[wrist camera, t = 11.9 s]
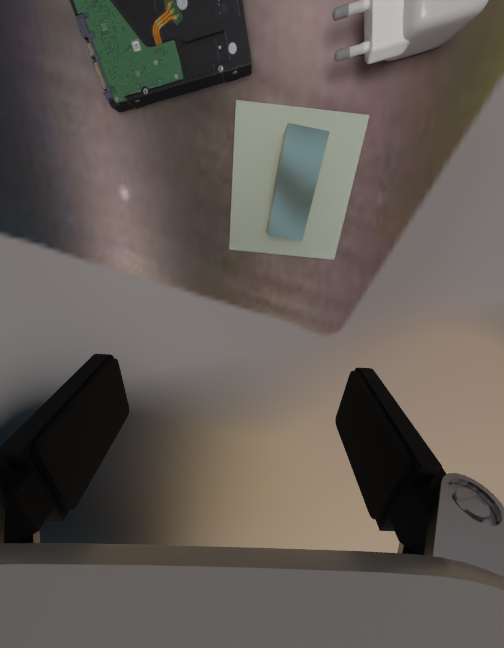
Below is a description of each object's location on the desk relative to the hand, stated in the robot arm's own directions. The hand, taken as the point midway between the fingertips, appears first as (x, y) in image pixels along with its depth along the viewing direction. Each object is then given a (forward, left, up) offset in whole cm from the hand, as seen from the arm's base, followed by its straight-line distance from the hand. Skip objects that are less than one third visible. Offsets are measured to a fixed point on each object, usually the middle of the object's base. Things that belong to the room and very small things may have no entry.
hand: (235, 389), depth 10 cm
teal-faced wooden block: (+4, +9, -25) cm, 27 cm away
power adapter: (+11, +22, -26) cm, 36 cm away
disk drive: (-10, +21, -26) cm, 35 cm away
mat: (+4, +9, -26) cm, 27 cm away
